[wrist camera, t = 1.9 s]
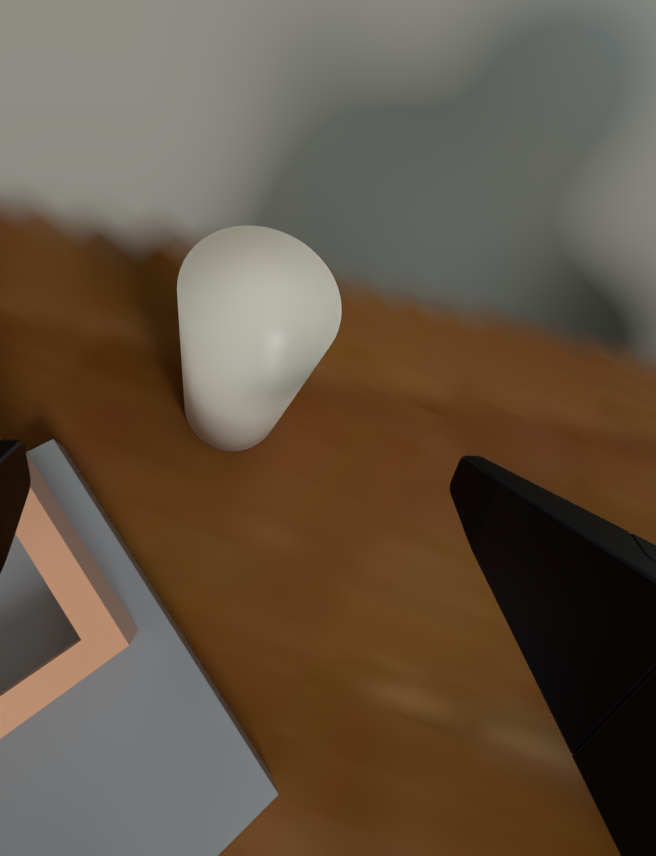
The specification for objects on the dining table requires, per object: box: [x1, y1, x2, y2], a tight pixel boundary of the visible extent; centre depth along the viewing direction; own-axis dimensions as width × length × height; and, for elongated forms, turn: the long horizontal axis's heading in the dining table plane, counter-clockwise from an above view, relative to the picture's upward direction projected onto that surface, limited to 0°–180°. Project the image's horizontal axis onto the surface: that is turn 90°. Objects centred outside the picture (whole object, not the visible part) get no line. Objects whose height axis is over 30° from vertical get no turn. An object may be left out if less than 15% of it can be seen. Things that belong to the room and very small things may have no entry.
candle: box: [177, 225, 342, 451], centre depth 16 cm, size 4×4×10 cm
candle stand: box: [0, 438, 278, 856], centre depth 14 cm, size 16×10×4 cm, turn 36°
